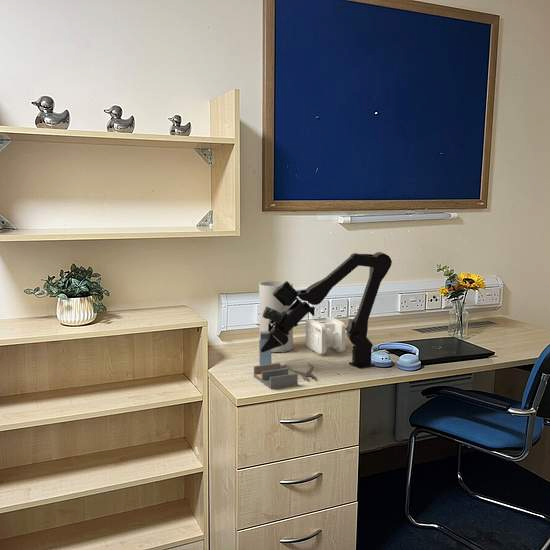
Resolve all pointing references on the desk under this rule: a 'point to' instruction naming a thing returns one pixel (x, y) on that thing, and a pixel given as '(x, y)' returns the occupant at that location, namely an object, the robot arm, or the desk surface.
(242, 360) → the desk surface
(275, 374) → the grey slotted holder
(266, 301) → the cylinder vase
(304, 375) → the pliers
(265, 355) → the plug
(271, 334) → the robot arm
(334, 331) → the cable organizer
